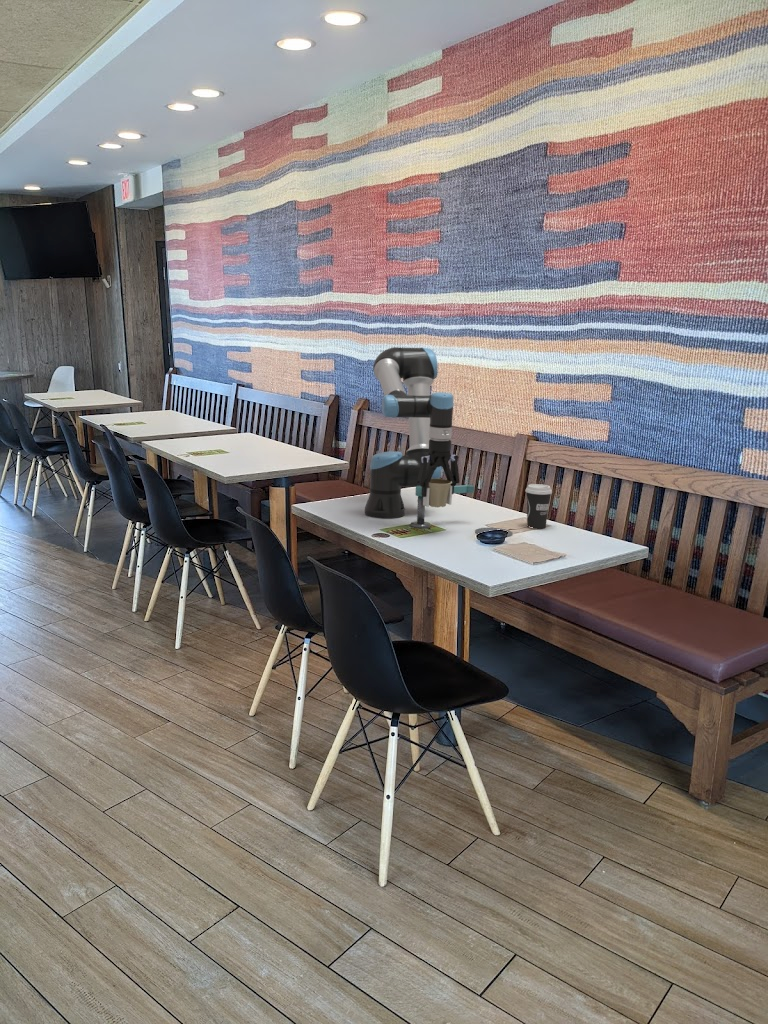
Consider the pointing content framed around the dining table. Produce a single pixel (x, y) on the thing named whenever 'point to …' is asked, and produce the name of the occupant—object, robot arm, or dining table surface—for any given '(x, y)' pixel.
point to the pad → (491, 529)
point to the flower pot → (438, 492)
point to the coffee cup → (537, 505)
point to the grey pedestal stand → (420, 516)
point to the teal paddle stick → (456, 489)
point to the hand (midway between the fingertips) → (437, 504)
